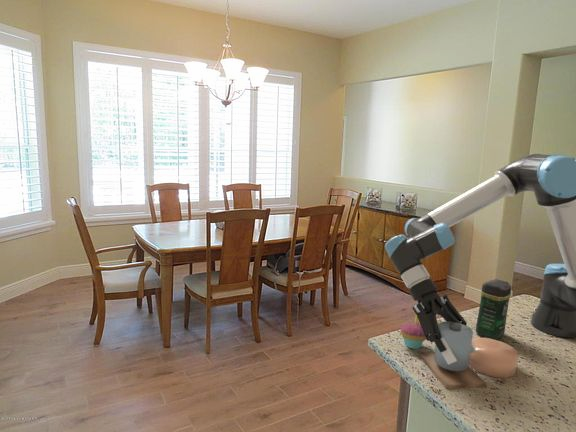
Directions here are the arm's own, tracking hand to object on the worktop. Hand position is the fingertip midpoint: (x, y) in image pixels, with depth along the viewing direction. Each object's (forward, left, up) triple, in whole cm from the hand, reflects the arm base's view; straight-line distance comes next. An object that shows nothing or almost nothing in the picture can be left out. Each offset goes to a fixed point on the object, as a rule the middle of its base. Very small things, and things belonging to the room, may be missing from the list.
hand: (462, 357), depth 108 cm
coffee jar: (-24, -23, -6) cm, 34 cm away
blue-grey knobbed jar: (+2, -3, -3) cm, 4 cm away
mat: (+2, -3, -5) cm, 6 cm away
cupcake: (+6, -17, -6) cm, 19 cm away
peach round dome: (-12, -5, -5) cm, 14 cm away
